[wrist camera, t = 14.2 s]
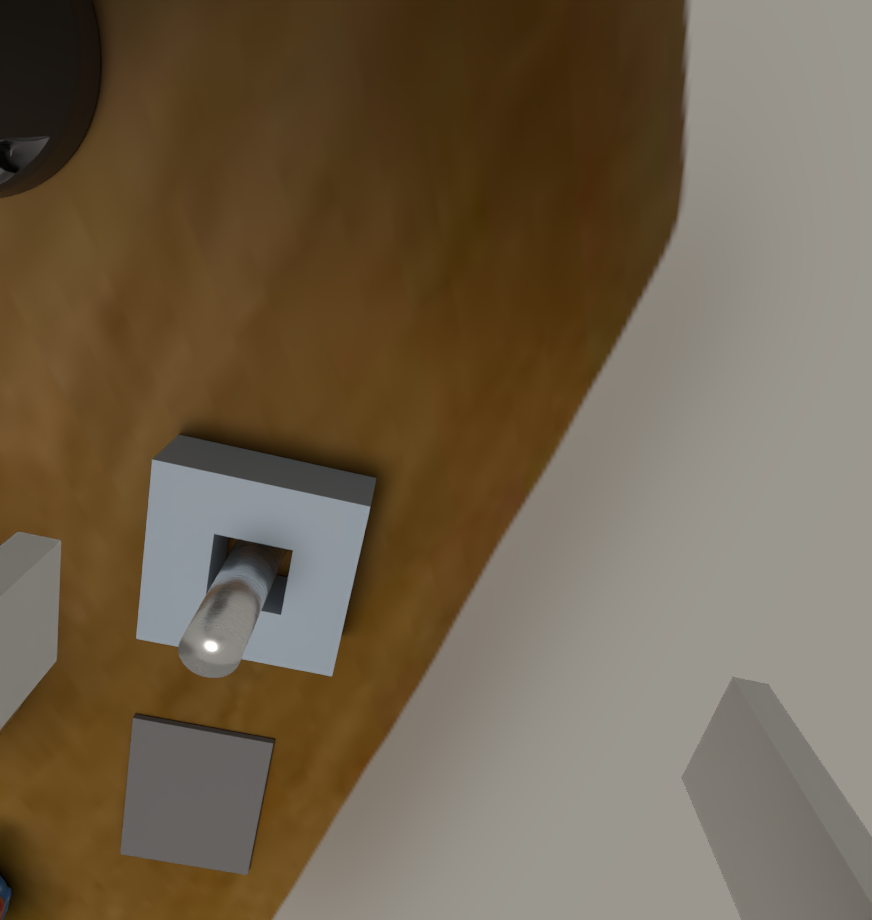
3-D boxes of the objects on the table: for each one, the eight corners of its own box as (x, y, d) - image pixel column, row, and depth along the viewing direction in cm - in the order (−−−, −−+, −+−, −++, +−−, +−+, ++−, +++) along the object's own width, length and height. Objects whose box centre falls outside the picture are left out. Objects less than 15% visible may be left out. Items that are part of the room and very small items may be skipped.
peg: (237, 557, 43) (175, 671, 32) (243, 516, 42) (181, 621, 31) (283, 566, 43) (237, 682, 33) (290, 526, 42) (244, 633, 32)
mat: (122, 849, 52) (120, 854, 52) (135, 713, 47) (132, 717, 47) (248, 870, 53) (247, 874, 53) (274, 739, 48) (273, 743, 48)
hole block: (161, 600, 44) (136, 638, 40) (178, 434, 39) (152, 459, 36) (340, 636, 45) (331, 676, 41) (376, 478, 41) (370, 506, 37)
